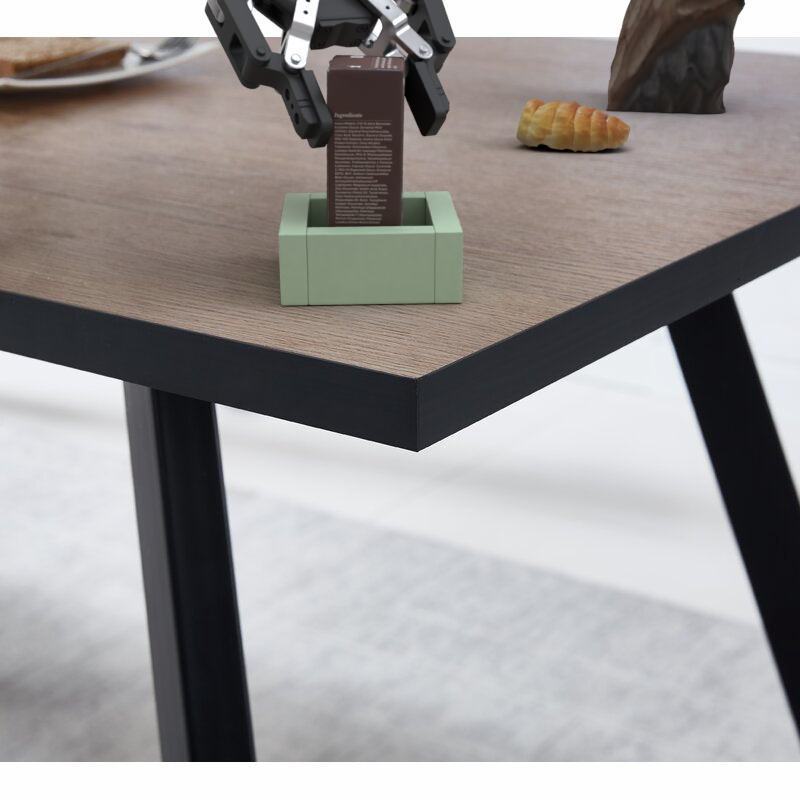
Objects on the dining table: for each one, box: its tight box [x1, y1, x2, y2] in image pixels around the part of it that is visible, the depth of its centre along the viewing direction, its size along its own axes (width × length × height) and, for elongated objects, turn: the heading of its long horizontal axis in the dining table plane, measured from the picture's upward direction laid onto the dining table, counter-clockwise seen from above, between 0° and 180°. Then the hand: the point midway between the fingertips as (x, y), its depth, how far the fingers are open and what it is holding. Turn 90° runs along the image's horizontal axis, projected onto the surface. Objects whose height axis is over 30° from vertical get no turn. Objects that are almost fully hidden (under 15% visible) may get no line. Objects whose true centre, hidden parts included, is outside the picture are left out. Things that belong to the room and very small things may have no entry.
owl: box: [606, 0, 746, 115], centre depth 130 cm, size 13×13×20 cm
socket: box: [277, 190, 464, 307], centre depth 75 cm, size 10×10×4 cm
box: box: [326, 54, 405, 227], centre depth 74 cm, size 6×4×12 cm
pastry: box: [515, 98, 631, 153], centre depth 112 cm, size 9×7×4 cm
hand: (381, 132), depth 71 cm, fingers closed on box, 6 cm apart
